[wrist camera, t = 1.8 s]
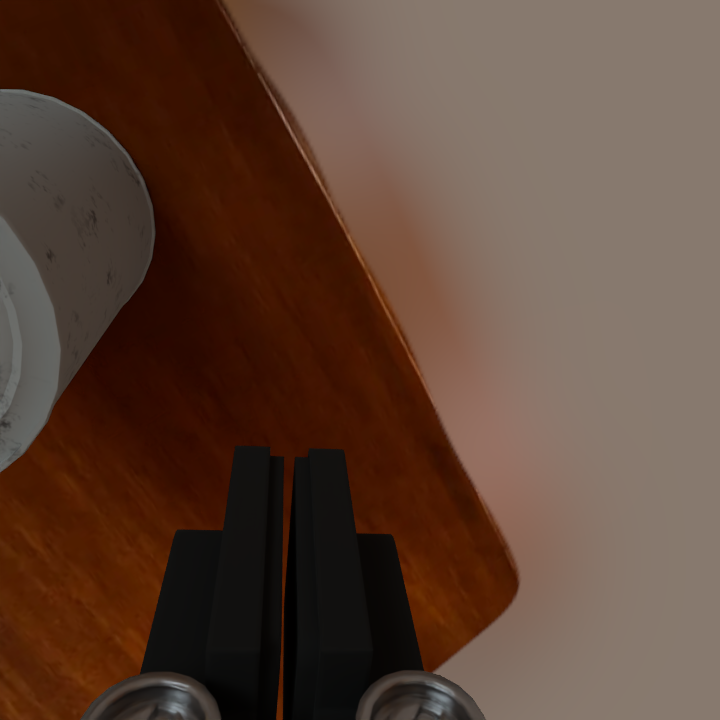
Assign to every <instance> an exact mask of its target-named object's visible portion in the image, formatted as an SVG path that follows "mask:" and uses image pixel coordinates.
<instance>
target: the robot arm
mask: <svg viewBox="0 0 720 720" xmlns="http://www.w3.org/2000/svg"><path fill="white" fill-rule="evenodd" d="M283 479H284V457H280V456H270V447H260V446H235V451H234V458H233V465H232V472H231V479H230V486H229V493H228V500H227V507H226V514H225V521H224V528H223V531H219V530H177V531H176V533H175V536H174V539H173V543H172V547H171V551H170V555H169V559H168V563H167V567H166V571H165V575H164V579H163V583H162V587H161V591H160V595H159V599H158V603H157V607H156V612H155V616H154V620H153V624H152V628H151V632H150V636H149V640H148V644H147V648H146V652H145V656H144V660H143V664H142V668H141V672H140V675H137V676H133V677H129V678H127V679H125V680H123V681H121V682H119V683H118V684H116V685H114V686H112V687H110V688H108V689H107V690H106V691H105V692H104V693H103V694H101V695H100V696H99V697H98V698H97V699H96V700H94V701H93V702H92V703H91V705H90V706H89V708H88V709H87V711H86V712H85V713H84V715H83V716H82V718H81V719H80V720H276V713H277V699H278V686H279V673H280V656H281V627H282V554H283ZM283 720H486V719H485V717H484V715H483V714H482V712H481V711H480V709H479V707H478V706H477V704H476V703H475V701H474V700H473V698H472V697H471V696H469V695H468V694H467V693H466V692H465V691H464V690H463V689H462V688H461V687H459V686H458V685H457V684H455V683H453V682H451V681H450V680H448V679H446V678H444V677H442V676H440V675H436V674H433V673H429V672H425V671H424V669H423V664H422V660H421V655H420V651H419V646H418V642H417V638H416V633H415V629H414V624H413V620H412V615H411V611H410V607H409V602H408V598H407V593H406V589H405V585H404V580H403V576H402V571H401V567H400V562H399V558H398V554H397V549H396V545H395V541H394V538H393V536H392V535H391V534H357V533H356V528H355V521H354V515H353V508H352V501H351V494H350V487H349V480H348V474H347V467H346V460H345V453H344V450H338V449H312V448H309V452H308V457H295V463H294V476H293V490H292V503H291V516H290V530H289V543H288V557H287V570H286V583H285V599H284V657H283Z"/></svg>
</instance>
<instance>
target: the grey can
mask: <svg viewBox="0 0 720 720" xmlns="http://www.w3.org/2000/svg"><path fill="white" fill-rule="evenodd" d="M154 241H155V223H154V213H153V205H152V202H151V199H150V196H149V193H148V190H147V187H146V184H145V181H144V179H143V177H142V175H141V174H140V172H139V170H138V168H137V167H136V165H135V163H134V162H133V160H132V158H131V156H130V155H129V153H128V152H127V151H126V150H125V149H124V148H123V147H122V145H121V144H120V143H119V142H118V141H117V140H116V139H115V138H114V136H113V135H112V134H111V133H110V132H109V131H108V130H107V129H106V128H104V127H103V126H102V125H100V124H99V123H98V122H96V121H95V120H94V119H92V118H91V117H90V116H88V115H87V114H86V113H84V112H83V111H81V110H79V109H77V108H75V107H73V106H71V105H69V104H67V103H65V102H62V101H60V100H58V99H56V98H54V97H50V96H46V95H42V94H38V93H34V92H30V91H26V90H9V89H0V472H2V471H3V470H4V469H5V468H7V467H8V466H9V465H10V464H12V463H13V462H14V461H15V460H17V459H18V458H19V457H20V456H22V455H23V454H24V453H25V452H26V450H27V449H28V448H29V446H30V445H31V444H32V442H33V441H34V439H35V438H36V437H37V435H38V434H39V433H40V431H41V430H42V429H43V427H44V426H45V425H46V423H47V422H48V420H49V417H50V414H51V412H52V409H53V406H54V405H55V403H56V402H57V400H58V399H59V397H60V396H61V394H62V393H63V392H64V390H65V389H66V387H67V386H68V384H69V383H70V381H71V380H72V379H73V377H74V376H75V374H76V373H77V371H78V370H79V368H80V367H81V366H82V364H83V363H84V361H85V360H86V358H87V357H88V355H89V354H90V353H91V351H92V350H93V348H94V347H95V345H96V344H97V342H98V341H99V340H100V338H101V337H102V335H103V334H104V332H105V331H106V329H107V328H108V326H109V325H110V324H111V322H112V321H113V319H114V318H115V316H116V315H117V313H118V312H119V311H120V309H121V308H122V306H123V305H124V304H125V303H126V302H128V301H129V299H130V298H131V297H132V295H133V294H134V292H135V291H136V290H137V288H138V287H139V286H140V284H141V283H142V282H143V280H144V277H145V275H146V272H147V270H148V267H149V265H150V262H151V260H152V255H153V248H154Z"/></svg>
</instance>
